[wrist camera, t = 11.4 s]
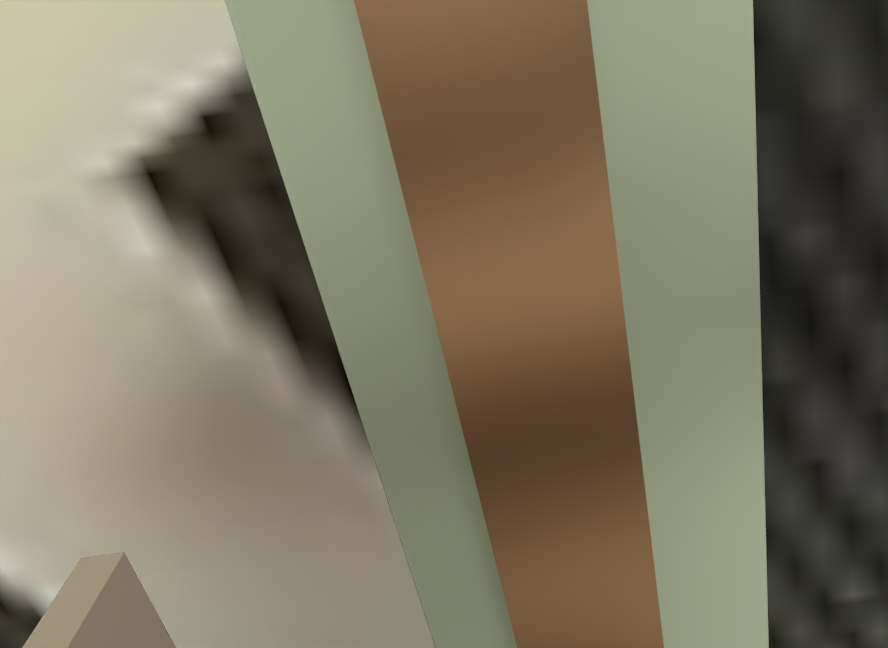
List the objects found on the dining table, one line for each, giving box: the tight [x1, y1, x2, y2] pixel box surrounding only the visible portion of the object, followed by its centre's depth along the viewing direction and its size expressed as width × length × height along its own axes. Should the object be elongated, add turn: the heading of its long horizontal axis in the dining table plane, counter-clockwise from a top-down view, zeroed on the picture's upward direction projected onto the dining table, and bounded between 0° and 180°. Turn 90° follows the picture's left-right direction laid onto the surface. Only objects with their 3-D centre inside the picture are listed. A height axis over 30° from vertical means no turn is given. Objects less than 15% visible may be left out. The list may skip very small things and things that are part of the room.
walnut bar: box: [354, 0, 664, 648], centre depth 15 cm, size 24×3×5 cm, turn 12°
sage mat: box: [225, 0, 769, 648], centre depth 18 cm, size 28×10×1 cm, turn 12°
